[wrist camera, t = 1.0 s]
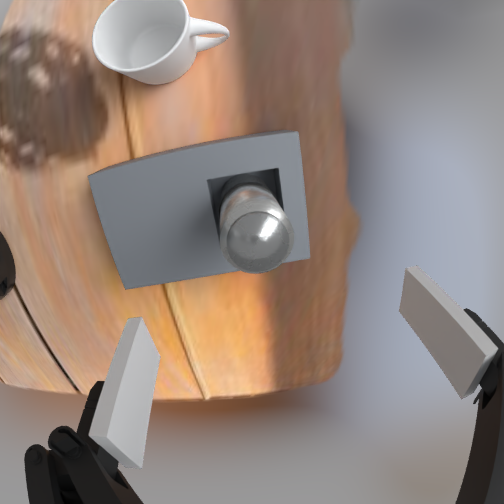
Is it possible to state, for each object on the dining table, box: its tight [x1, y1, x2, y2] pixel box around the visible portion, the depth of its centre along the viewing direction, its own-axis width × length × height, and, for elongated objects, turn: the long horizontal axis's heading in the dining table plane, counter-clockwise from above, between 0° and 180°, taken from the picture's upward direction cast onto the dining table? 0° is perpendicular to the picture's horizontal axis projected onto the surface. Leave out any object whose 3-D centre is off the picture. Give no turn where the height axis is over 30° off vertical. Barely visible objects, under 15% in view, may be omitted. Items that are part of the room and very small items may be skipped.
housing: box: [88, 130, 310, 290], centre depth 32 cm, size 22×14×6 cm, turn 98°
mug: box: [92, 0, 229, 85], centre depth 21 cm, size 9×12×11 cm
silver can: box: [219, 174, 294, 273], centre depth 27 cm, size 6×6×13 cm
